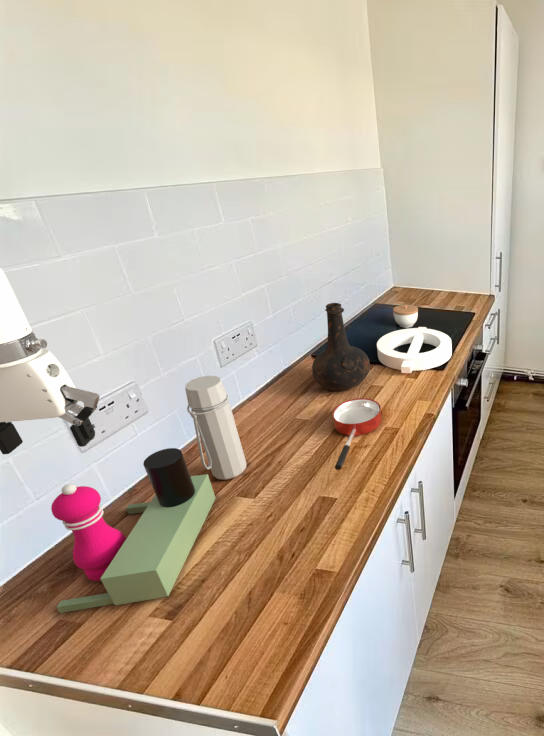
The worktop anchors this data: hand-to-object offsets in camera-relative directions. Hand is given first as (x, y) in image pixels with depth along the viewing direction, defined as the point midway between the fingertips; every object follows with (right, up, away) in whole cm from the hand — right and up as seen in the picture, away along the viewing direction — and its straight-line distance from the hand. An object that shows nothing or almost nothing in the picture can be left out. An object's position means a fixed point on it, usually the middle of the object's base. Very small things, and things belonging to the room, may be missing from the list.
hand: (51, 444), depth 69 cm
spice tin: (+5, -15, +19) cm, 25 cm away
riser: (+2, -24, +16) cm, 29 cm away
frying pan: (+32, -10, +48) cm, 58 cm away
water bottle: (+5, -15, +35) cm, 39 cm away
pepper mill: (-2, -26, +12) cm, 28 cm away
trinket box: (+27, +27, +123) cm, 129 cm away
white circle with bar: (+36, +14, +98) cm, 106 cm away
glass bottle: (+18, +4, +75) cm, 77 cm away
